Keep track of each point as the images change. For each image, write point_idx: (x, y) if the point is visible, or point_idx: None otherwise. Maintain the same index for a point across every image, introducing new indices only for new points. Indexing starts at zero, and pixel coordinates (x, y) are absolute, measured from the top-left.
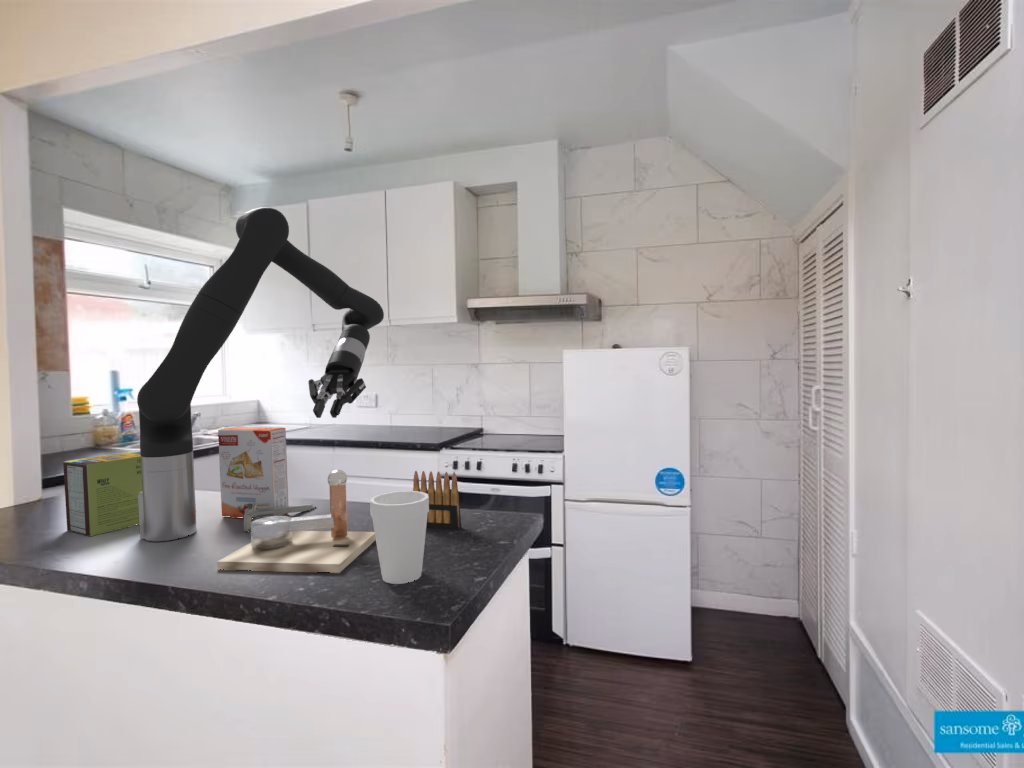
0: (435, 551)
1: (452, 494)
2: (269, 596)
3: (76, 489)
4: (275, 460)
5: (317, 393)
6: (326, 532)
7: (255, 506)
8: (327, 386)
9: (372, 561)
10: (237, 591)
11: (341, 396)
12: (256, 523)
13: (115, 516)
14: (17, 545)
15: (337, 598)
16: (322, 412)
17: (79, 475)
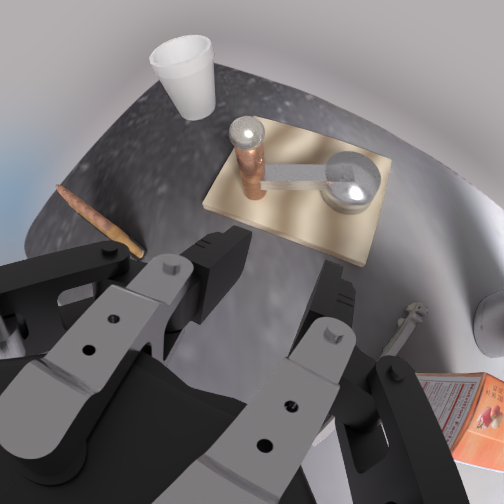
0: (150, 153)
1: (79, 198)
2: (312, 98)
3: None
4: (425, 389)
5: (360, 482)
6: (276, 223)
7: (414, 315)
8: (256, 396)
9: (219, 141)
10: (345, 113)
11: (152, 259)
12: (371, 170)
13: None
14: None
15: (255, 85)
16: (300, 323)
17: None
